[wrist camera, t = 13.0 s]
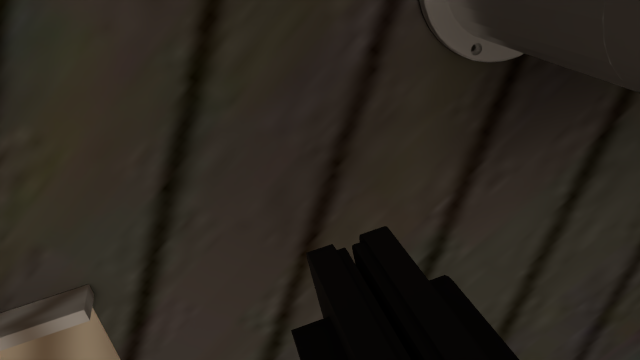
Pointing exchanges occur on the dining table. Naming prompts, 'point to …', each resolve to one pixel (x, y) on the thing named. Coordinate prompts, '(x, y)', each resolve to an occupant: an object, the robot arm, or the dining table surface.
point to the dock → (56, 330)
